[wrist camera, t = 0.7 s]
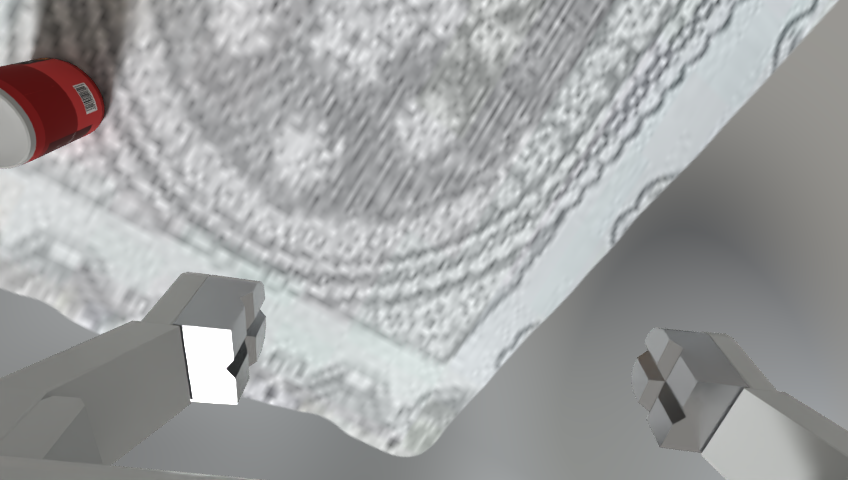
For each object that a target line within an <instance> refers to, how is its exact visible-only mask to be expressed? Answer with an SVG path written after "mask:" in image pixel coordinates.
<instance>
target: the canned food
mask: <svg viewBox="0 0 848 480" xmlns="http://www.w3.org/2000/svg"><path fill="white" fill-rule="evenodd" d="M104 112H105V110H104V102H103V98H102V95H101V93H100V91H99V89H98V88H97V86H96V84H95V83H94V82H93V81H92V79H91V78H90V77H89V76H88V75H87V74H86V73H84V72H83V71H82V70H81V69H79V68H78V67H76V66H74V65H72V64H70V63H68V62H65V61H62V60H57V59H51V58H41V59H35V60H30V61H25V62H21V63H16V64H11V65H6V66H1V67H0V169H7V168H13V167H17V166H20V165H23V164H25V163H27V162H30V161H32V160H34V159H37V158H39V157H41V156H43V155H45V154H47V153H49V152H52V151H54V150H56V149H58V148H60V147H62V146H64V145H66V144H69V143H71V142H73V141H75V140H77V139H79V138H81V137H83V136H86V135H88V134H90V133H91V132H93V131H95V129H96V128H97V127H98V126H99V125H100V123H101V121H102V119H103V117H104Z"/></svg>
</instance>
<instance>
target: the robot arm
mask: <svg viewBox="0 0 848 480" xmlns="http://www.w3.org/2000/svg"><path fill="white" fill-rule="evenodd" d="M264 300H265V293H264V285H263V283H262V282H261V281H254V280H246V279H239V278H232V277H224V276H217V275H209V274H201V273H192V272H186V273H183V274H181V275H180V276H179V277H178V278H177V279H176V281H175V282H174V283H173V284H172V285H171V287H170V288H169V289H168V290H167V291H166V292H165V294H164V295H163V296H162V297H161V298H160V300H159V301H158V302H157V303H156V304H155V305H154V307H153V308H152V309H151V310H150V311H149V313H148V314H147V315H146V316H145V317H144V318H143V320H142V321H131V322H129V323H126V324H124V325H122V326H119V327H117V328H115V329H113V330H110V331H108V332H106V333H103V334H101V335H99V336H97V337H94V338H92V339H90V340H87V341H85V342H83V343H80V344H78V345H76V346H73V347H71V348H69V349H67V350H65V351H62V352H60V353H57V354H55V355H53V356H51V357H49V358H46V359H44V360H42V361H39V362H37V363H34V364H32V365H30V366H28V367H25V368H23V369H21V370H18V371H16V372H14V373H11V374H9V375H7V376H5V377H2V378H0V480H259V479H249V478H238V477H227V476H217V475H207V474H195V473H185V472H174V471H164V470H152V469H142V468H132V467H121V466H111V465H112V464H113V463H114V462H116V461H117V460H118V459H120V458H121V457H122V456H124V455H125V454H126V453H127V452H129V451H130V450H131V449H133V448H134V447H135V446H137V445H138V444H139V443H141V442H142V441H143V440H144V439H146V438H147V437H148V436H150V435H151V434H152V433H154V432H155V431H156V430H158V429H159V428H160V427H161V426H163V425H164V424H165V423H167V422H168V421H169V420H170V419H172V418H173V417H174V416H176V415H177V414H178V413H180V412H181V411H182V410H183V409H185V408H186V407H187V406H189V405H190V404H191V401H199V402H212V403H226V404H238V402H239V399H240V397H241V395H242V393H243V391H244V389H245V387H246V384H247V382H248V380H249V366H251V365H252V364H254V363H255V362H257V360H258V358H259V355H260V353H261V351H262V347H263V343H264V339H265V330H266V316H265V315H264V314H263V313H262V311H261V310H260V308H261V306H262V304H263V302H264ZM645 344H646V347H647V350H648V351H646V352H645V353H643V354H642V355H640V356H639V357H637V359H636V361H635V364H634V366H633V369H632V378H631V384H632V388H633V393H634V395H635V397H636V399H637V401H638V403H639V404H641V405H642V406H643V407H645V408H646V409H647V410H648V411H649V414H648V417H647V422H648V424H649V426H650V428H651V430H652V432H653V434H654V436H655V438H656V441H657V443H658V445H659V447H661V448H669V449H675V450H683V451H691V452H698V453H702V454H701V455H702V456H703V457H704V458H705V459H706V460H707V461H708V462H709V463H710V464H711V465H712V466H713V467H714V468H715V469H716V470H717V471H718V472H719V473H720V474H721V475H722V476H723V477H724V478H725V479H726V480H848V431H847V430H845V429H843V428H842V427H840V426H839V425H837V424H836V423H834V422H832V421H831V420H829V419H828V418H826V417H824V416H822V415H821V414H819V413H818V412H816V411H815V410H813V409H811V408H810V407H808V406H807V405H805V404H803V403H802V402H800V401H798V400H797V399H795V398H794V397H792V396H790V395H789V394H787V393H785V392H779V391H777V390H776V389H775V388H774V386H773V385H772V384H771V383H770V382H769V381H768V379H767V378H766V377H765V376H764V374H763V373H762V372H761V371H760V370H759V369H758V367H757V366H756V365H755V364H754V363H753V361H752V360H751V359H750V358H749V357H748V355H747V354H746V353H745V352H744V351H743V349H742V348H741V347H740V346H739V345H738V344H737V342H736V341H735V340H734V339H733V338H732V337H730V336H728V335H726V334H722V333H709V332H692V331H683V330H673V329H664V328H654V329H652V330H651V331H650V332H649V334H648V336H647V338H646V340H645Z"/></svg>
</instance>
